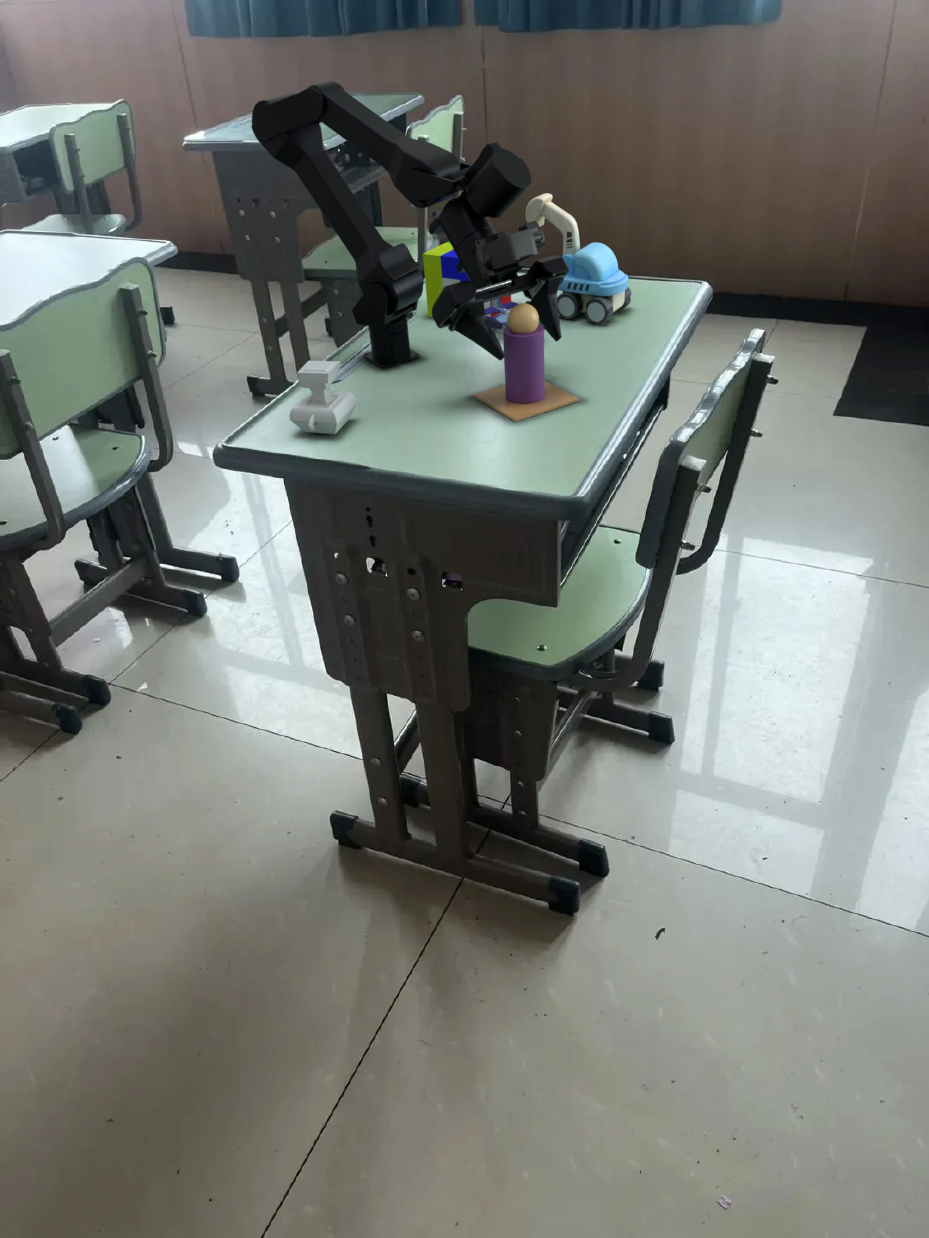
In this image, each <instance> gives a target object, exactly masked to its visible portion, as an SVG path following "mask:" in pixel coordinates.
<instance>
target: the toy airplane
mask: <svg viewBox="0 0 929 1238" xmlns="http://www.w3.org/2000/svg"><path fill="white" fill-rule="evenodd" d="M530 301H531V300H526V301H525V302H524V303H526V304H529V302H530ZM517 304H519V303H518V302H515V301H511V302H509V303H505V304H502V303H501V301H500V298H499V299H495V300H492V307H489V308H486V309H485V315H486V314H492V313H498V312H500V313H498V314H497V315H495V316H494V317H490V316H486V318H487V319H488V321H489V323H490V325H491V327H492V329H493V331H494V332H496V331H498V330H499V331H501V330H502V331H503V329H504V325H506V324H507V325H508V323H507V318H508V314H509V312H510V310H511V309H512V308H513V307H514V306H515V305H517ZM539 325H541V323H539ZM543 328H544V326H543ZM544 330H546V329H545V328H544Z"/></svg>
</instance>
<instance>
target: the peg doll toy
mask: <svg viewBox="0 0 929 1238" xmlns="http://www.w3.org/2000/svg"><path fill="white" fill-rule="evenodd" d="M509 310H510V312H509V314H508V318H507V323H508V324H507V325H506V326H505V327H503V329H502V340H503V343H502V344H503V351H504V354H505V357H504V358H503V367H504V368H503V369H504V385H505V395H506V399H507V400H508V401H510V402H512V403H516V404H530V403H535V402H538V401H540V400H542V399H543V398H544V396H545V380H546V379H545V329H544V328H543V327H544V326H543V325H542V324H540V321H539V316H538V313H537V311H536V309H535V308H534V307H533V306H531V305H530V304H526V303H525V302H523V303H518V304H517V305H515V306H514V307H512V308H510V309H509ZM539 324H540V325H539Z"/></svg>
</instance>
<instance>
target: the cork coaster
mask: <svg viewBox="0 0 929 1238" xmlns="http://www.w3.org/2000/svg"><path fill="white" fill-rule="evenodd" d="M473 398H474V399H476V400H477V401H479V402H481V403H483V404H485V405H486V406H488V407H490V408H491V409H492V410H495V411H497V412H498V413H500V414H501V415H503V416H505V417H507V418H508V419H510V420H512V421H514V423H515V422H516V423H517V422H521V421H523V420H525V419H528V418H529V419H530V418H531V417H534V416H538V415H540V414H543V413H544V414H545V413H547V412H550V411H552V410H556V409H559V408H562V407H565V406H568V405H571V404H574V403H577V402H579V398H578V397H577V396H575V395H573V394H571V393H569V392H567V391H565V390H563V389H561V388H559V387H558V386H556V385H554V384H552V383H549V382H548V381H547V380H546V381H545V396H544V398H543V399H542V400H540V401H538V402H535V403H530V404H516V403H512V402H510V401H508V400H507V399H506V395H505V384H503V385H500V386H497V387H494V388H491V389H487V390H484V391H481V392H478V393H474V394H473Z"/></svg>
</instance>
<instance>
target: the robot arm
mask: <svg viewBox="0 0 929 1238" xmlns="http://www.w3.org/2000/svg"><path fill="white" fill-rule="evenodd" d="M321 123H322V124H323V125H325V126H326V127H327V128H329V129H330V130H331V131H332V132H334V133H336V134H337V135H338V136H339V137H341V138H342V139H344V140H345V141H346V142H348V143H349V144H350V145H352V146H353V147H355V148H356V149H358V150H359V151H360V152H362V153H363V154H364V155H365V156H367V157H368V158H370V159H371V160H372V161H374V162H375V163H376V164H378V165H379V166H381V167H382V168H383V169H384V170H385V172H387V174H388V175H389V177H390V180H391V182H392V184H393V186H394V188H395V189H396V190H397V191H398V192H399V193H400V194H401V195H402V196H403V197H404V198H405V199H406V200H407V201H408V202H409V203H410V204H411V205H412V206H414V207H416V208H417V209H427V208H430V207H432V206H434V205H436V204H440V203H442V202H444V201H446V200H448V201H447V202H446V204H445V205H443V207H442V209H441V210H440V211H432V213H431V221H430V223H429V227H428V233H429V235H444V234H445V236H446V237H447V240H448V241H449V242H450V243H451V245H452V247H453V249H454V251H455V253H456V255H457V257H458V259H459V262H458V264H457V265H456V268H457V270H458V272H459V273H462V272H466V274H467V276H468V278H469V280H470V281H468V280H465V281H462V282H458V283H455V284H451V285H448V286H445V287H444V288H443V290H442V292H441V293H440V295H439V296H438V298H437V300H436V301H435V303H434V305H433V307H432V317H433V318H432V319H433V321H434V322H435V323H434V324H435V325H436V326H437V328H438V329H439V330H441V329H443V328H447V329H448V330H449V332H457V333H459V334H460V335H462V336H463V337H465V338H467V339H468V340H470V341H471V342H473V343H475V344H476V345H478V346H479V347H481V348H482V349H483V350H484V351H486V352H487V353H488V354H490V355H491V356H493V357H494V358H496V359H497V360H498V361H503V360H504V357H505V354H504V348H503V346H502V344H501V342H500V341H499V338H498V336H497V335H496V333H495V331H494V330H493V328H492V327H491V325H490V323H489V321H488V319H487V318H486V315H485V308H484V303H485V302H489V301H492V300H495V299H499V298H502V297H505V296H509V295H511V296H512V295H516V294H519V293H521V292H522V294H523V295H524V297H525V298H527V299H529V301H530V302H529V304H530V305H531V306H533V307H534V308H535V309H536V311H537V313H538V316H539V323H540V325H541V326H543V327H544V328H545V329H544V330H545V331H546V332H547V334H548V335H549V336H550V337H551V338H552V339H553V340H554V341H555V342H559V341H560V340H561V339H562V330H561V323H560V315H559V314H558V307H557V297H558V291H559V290H558V287H559V286H560V285H561V283H562V282H563V281H564V277H565V276H566V275H567V273H568V272H569V271H570V270H569V268H568V266H567V265H566V263H565V261H564V259H563V258H562V256H560V255H557V254H553V255H551V256H547V257H543V258H540V259H536V260H535V261H534V262H533V263H532V265H531V266H530V267H529V269H528V270H527V272H526V273H524V274H521V275H519V274H518V272H519V271H522V270H523V268H524V267H525V266H526V263H525V261H524V260H526V259H529V258H530V257H536V256H539V251H538V249H540V248H543V247H544V246H545V245H546V238H545V234H544V231H543V228H541V226H539V225H538V223H537V221H532V222H528V223H527V222H525V223H524V224H522V225H520V226H519V227H518V231H515V232H511V233H508V234H506V233H505V232H503V231H500V232H496V230H495V228H494V226H493V224H492V222H491V221H490V219H489V218H492V219H500V218H502V217H503V216H504V215H505V214H506V212H507V211H508V210H509V209H510V208H511V207H512V206H513V205H514V203H515V202H516V201H517V200H518V199H519V198H520V197H521V196H522V194H523V193H524V192H525V191H526V190H527V189H528V188H529V186H530V185H531V183H532V174H531V171H530V169H529V167H528V165H527V162H525V161H524V159H523V158H522V157H519V156H518V155H517V154H515V153H514V152H513V151H511V150H509V149H507V148H503V147H502V146H501V145H500V143H499V142H498V141H497V140H494V141H492V142H489V143H486V144H485V146H484V147H483V148H482V149H481V151H480V152H479V153H480V154H479V155H478V157H477V159H476V160H475V161H474V162H473V163H468V162H464V161H461V160H459V158H458V157H457V155H455V154H454V153H452V152H451V151H449V150H448V149H444V148H443V147H442V146H438V145H437V144H434V143H432V142H429V141H424V140H420V139H416V138H412V137H410V136H409V135H406V134H405V133H404V132H402V131H401V130H399V129H398V128H397V127H395V126H394V125H392V124H391V123H390V122H388V121H387V120H385V119H384V118H383V117H382V116H380V115H378V114H377V113H376V112H374V111H373V110H371V109H370V108H369V107H367V106H366V105H365V104H364V103H362V102H361V101H359V100H358V99H357V98H356V97H354V96H352V95H351V94H350V93H349V92H347V91H346V90H345V89H344V87H343V86H342V85H341V84H340V83H338V82H336V81H334V80H327V81H324V82H319V83H315V84H311V85H309V86H308V87H306V89H303V90H301V91H299V92H297V93H294V92H292V93H287V94H283V95H279V96H275V97H270V98H267V99H266V98H265V99H263V100H259V101H257V102H256V103H255V104H254V106H253V108H252V111H251V125H250V126H251V130H252V133H253V135H254V137H255V139H256V140H257V141H258V142H259V144H260V145H261V146H262V148H264V149H265V150H266V151H267V153H268V154H269V155H270V156H271V157H272V159H274V160H276V161H277V162H279V163H281V164H282V165H284V166H286V167H288V168H289V169H291V170H292V171H293V172H294V173H295V174H296V175H297V177H298V179H299V180H300V182H301V183H302V184H303V186H304V187H305V189H306V190H307V192H308V193H309V195H310V196H311V198H312V199H313V200H314V202H315V204H316V205H317V206H318V208H319V210H320V212H321V213H322V214H323V216H324V217H325V219H326V220H327V222H328V223H329V224H330V226H331V227H332V229H333V231H334V232H335V234H336V235H337V236H338V238H339V239H340V241H341V242H342V244H343V245H344V247H345V248H346V250H347V251H348V253H349V254H350V256H351V257H352V259H353V261H354V263H355V269H356V278H357V279H356V280H357V285H358V287H359V288H360V291H361V292H362V296H361V297H360V298H359V299H358V301H357V302H356V303H355V305H354V306H353V307H352V309H351V313H352V315H353V318H354V320H355V323H356V324H357V325H359V326H360V325H361V326H365V327H368V334H369V341H370V342H369V343H370V348H371V349H370V350H371V351H368V352H364V353H363V358H364V359H366V360H367V361H369V362H371V363H372V364H374V365H375V366H377V367H378V368H380V369H383V370H384V369H388V368H392V367H395V366H398V365H402V364H405V363H409V362H413V361H416V360H420V358H421V355H420V353H417V352H416V351H414V350H413V349H411V346H410V345H411V344H410V336H409V326H408V324H409V323H408V316H407V315H408V314H411V313H412V312H415V311H417V309H418V305H419V301H420V298H421V297H422V295H423V292H424V283H425V279H424V276H423V275H422V272H421V271H420V269H421V268H422V265H420V264H419V262H417V261H416V260H415V259H414V258H413V255H412V254H411V252H410V250H409V247H408V246H407V245H406V244H405V243H404V242H401V243H399V244H396V245H393V244H390V243H389V242H387V241H386V240H385V239H384V238H383V237H382V235H381V233H380V232H379V231H378V229H377V228H376V226H375V225H374V224H373V222H372V221H371V219H370V217H369V216H368V214H367V212H366V211H365V210H364V208H363V207H362V205H361V204H360V202H359V201H358V199H357V197H356V196H355V194H354V193H353V191H352V190H351V189H350V187H349V186H348V184H347V182H346V181H345V179H344V178H343V176H342V175H341V173H340V172H339V170H338V169H337V167H336V165H334V163H333V161H332V160H331V159H330V157H329V155H328V153H327V152H326V150H325V148H324V142H323V131H322V126H321ZM461 191H462V192H461ZM459 192H461V193H460V195H459V196H458V197H455V196H456V195H457V194H459ZM453 197H454V198H453Z"/></svg>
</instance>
